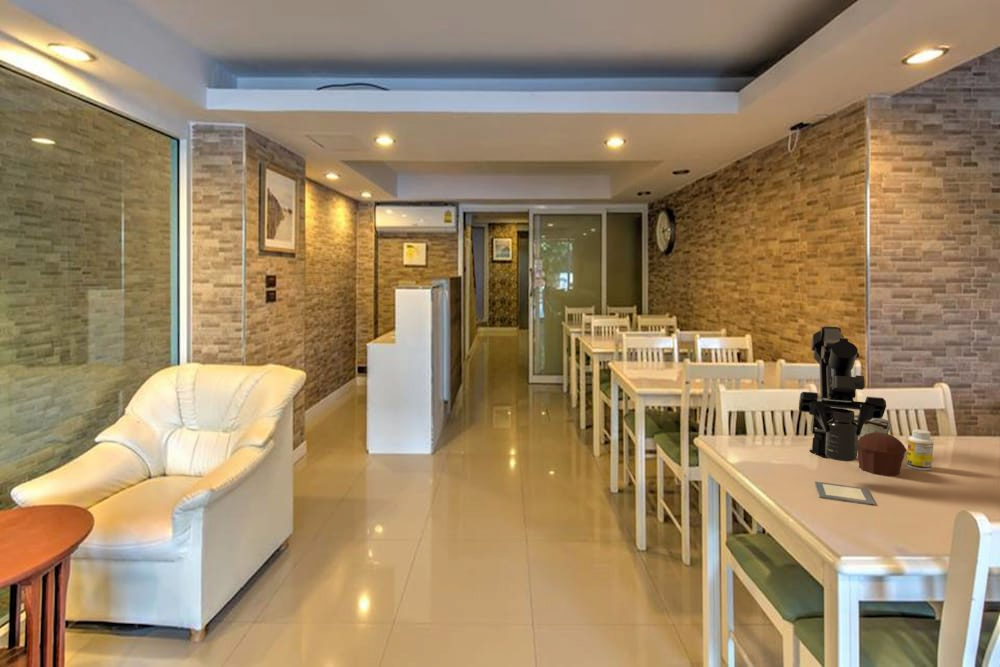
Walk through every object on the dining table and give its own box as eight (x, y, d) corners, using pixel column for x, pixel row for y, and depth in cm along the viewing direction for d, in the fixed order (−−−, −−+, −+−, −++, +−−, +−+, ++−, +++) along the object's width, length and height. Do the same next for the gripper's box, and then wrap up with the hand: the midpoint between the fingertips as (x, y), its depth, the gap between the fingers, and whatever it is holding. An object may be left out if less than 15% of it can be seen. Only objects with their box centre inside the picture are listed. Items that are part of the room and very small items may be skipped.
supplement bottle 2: (907, 463, 162) (910, 427, 161) (931, 467, 158) (934, 430, 157) (905, 468, 157) (908, 431, 156) (930, 472, 154) (933, 434, 153)
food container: (897, 454, 170) (900, 421, 169) (888, 458, 167) (890, 423, 166) (852, 444, 180) (855, 413, 179) (843, 447, 177) (845, 415, 176)
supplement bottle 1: (840, 453, 149) (843, 407, 147) (863, 461, 142) (866, 413, 141) (818, 454, 147) (821, 408, 146) (840, 463, 140) (843, 414, 139)
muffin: (844, 464, 160) (846, 428, 159) (881, 463, 161) (884, 428, 160) (875, 478, 148) (878, 440, 148) (916, 477, 149) (919, 439, 149)
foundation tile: (814, 482, 144) (815, 481, 144) (866, 489, 140) (866, 487, 140) (819, 497, 134) (819, 495, 134) (875, 505, 130) (875, 503, 130)
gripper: (802, 360, 150) (803, 411, 141) (887, 365, 142) (894, 419, 133) (798, 385, 158) (798, 435, 149) (879, 391, 150) (884, 444, 141)
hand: (842, 433), depth 143 cm, fingers closed on supplement bottle 1, 7 cm apart
